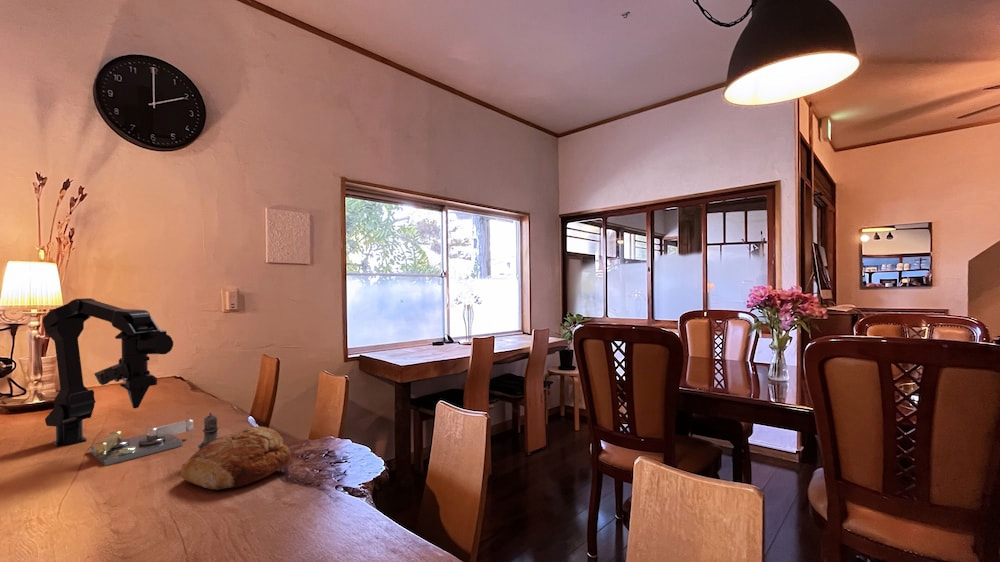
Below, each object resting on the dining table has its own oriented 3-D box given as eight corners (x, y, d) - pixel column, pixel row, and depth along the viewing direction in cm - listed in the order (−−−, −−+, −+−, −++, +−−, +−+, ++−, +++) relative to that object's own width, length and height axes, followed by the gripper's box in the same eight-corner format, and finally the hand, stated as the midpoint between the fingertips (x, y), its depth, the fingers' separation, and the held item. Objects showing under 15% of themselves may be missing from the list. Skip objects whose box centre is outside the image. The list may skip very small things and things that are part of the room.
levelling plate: (89, 452, 122) (89, 443, 122) (163, 434, 136) (163, 426, 136) (104, 466, 113) (104, 456, 113) (182, 445, 126) (182, 436, 126)
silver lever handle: (142, 447, 121) (142, 433, 121) (135, 442, 125) (135, 429, 125) (197, 433, 132) (196, 421, 132) (189, 429, 135) (189, 417, 135)
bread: (293, 465, 112) (293, 426, 112) (227, 499, 95) (226, 453, 95) (236, 455, 119) (235, 419, 119) (164, 484, 102) (164, 442, 102)
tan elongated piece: (106, 443, 124) (106, 430, 124) (132, 440, 127) (132, 427, 127) (83, 460, 112) (83, 446, 112) (113, 457, 114) (113, 442, 114)
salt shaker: (211, 461, 115) (210, 416, 115) (192, 460, 116) (191, 415, 116) (229, 453, 120) (228, 409, 120) (211, 451, 122) (210, 408, 122)
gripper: (90, 355, 126) (91, 409, 126) (104, 361, 114) (105, 421, 114) (139, 349, 134) (140, 400, 134) (157, 355, 123) (158, 410, 123)
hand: (135, 407), depth 126 cm, fingers closed
